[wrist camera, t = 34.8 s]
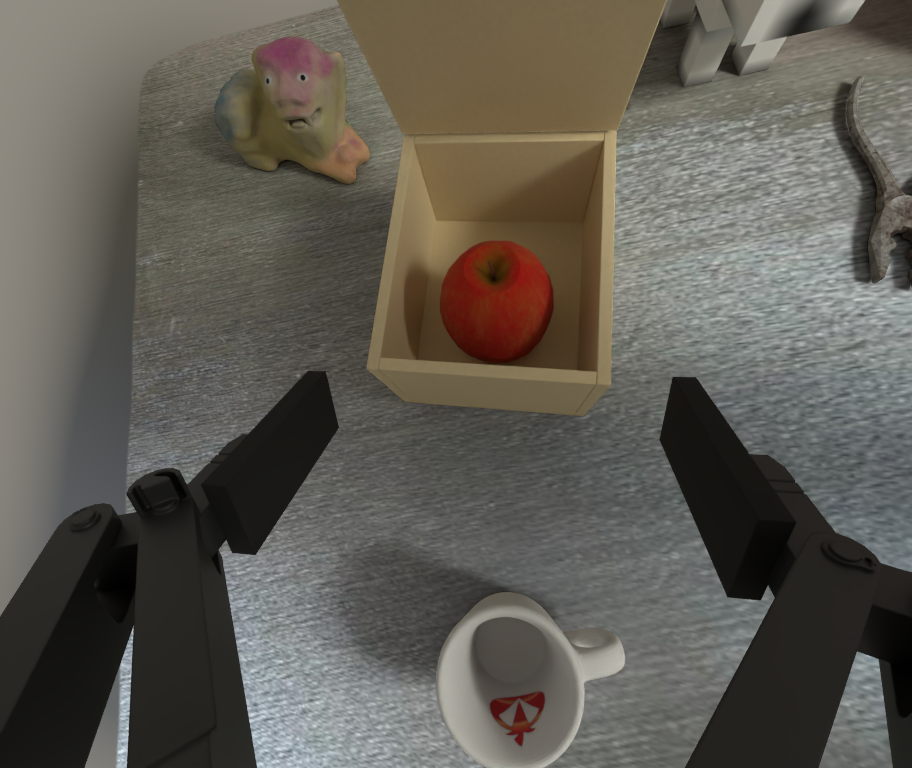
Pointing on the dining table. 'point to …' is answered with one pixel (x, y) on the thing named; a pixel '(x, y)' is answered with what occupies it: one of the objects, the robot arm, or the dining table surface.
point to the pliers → (880, 195)
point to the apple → (496, 301)
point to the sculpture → (291, 111)
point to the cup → (518, 681)
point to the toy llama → (746, 30)
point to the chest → (500, 219)
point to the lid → (504, 61)
